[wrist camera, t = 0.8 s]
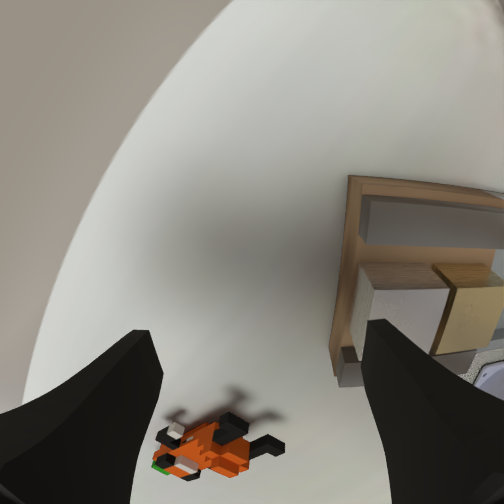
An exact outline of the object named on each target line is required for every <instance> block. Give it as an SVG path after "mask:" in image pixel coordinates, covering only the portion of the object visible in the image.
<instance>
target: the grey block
mask: <svg viewBox="0 0 504 504" xmlns="http://www.w3.org/2000/svg"><path fill="white" fill-rule="evenodd" d="M449 290H450V288H449V287H448V286H447V285H446V284H445V283H444V282H443V281H442V280H441V279H440V278H439V277H438V276H437V275H436V273H435V272H434V271H433V270H432V269H431V268H430V267H429V266H428V265H427V264H426V263H388V262H358V269H357V276H356V283H355V289H354V295H353V301H352V307H351V313H350V318H349V324H348V328H349V331H350V334H351V337H352V341H353V344H354V347H355V350H356V353H357V357H358V360H359V361H362V354H363V348H364V342H365V335H366V327H367V320H375V319H384V318H385V319H386V320H388V321H389V322H390V323H391V324H392V325H394V326H395V327H396V328H397V329H398V330H399V331H401V332H402V333H403V334H404V335H405V336H406V337H408V338H409V339H410V340H411V341H412V342H414V343H415V344H416V345H417V346H418V347H420V348H421V349H422V350H423V351H424V352H426V353H427V354H429V351H430V348H431V346H432V343H433V340H434V337H435V335H436V332H437V329H438V326H439V323H440V320H441V317H442V314H443V311H444V307H445V304H446V301H447V297H448V294H449Z"/></svg>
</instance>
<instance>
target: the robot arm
mask: <svg viewBox="0 0 504 504" xmlns="http://www.w3.org/2000/svg"><path fill="white" fill-rule="evenodd" d="M361 372H362V377H363V382H364V387H365V391H366V395H367V398H368V401H369V404H370V407H371V410H372V413H373V416H374V419H375V422H376V425H377V428H378V431H379V434H380V438H381V441H382V444H383V448H384V452H385V456H386V462H387V468H388V474H389V482H390V490H391V499H392V504H504V361H503V362H498V363H494V364H489V365H486V366H484V367H483V368H482V370H481V372H480V374H479V376H478V378H477V380H476V381H475V383H474V385H472V384H470V383H469V382H467V381H465V380H464V379H462V378H460V377H459V376H457V375H456V374H454V373H453V372H451V371H450V370H448V369H447V368H446V367H444V366H443V365H442V364H440V363H439V362H437V361H436V360H435V359H433V358H432V357H431V356H430V355H428V354H427V353H426V352H424V351H423V350H422V349H421V348H420V347H418V346H417V345H416V344H415V343H414V342H412V341H411V340H410V339H409V338H408V337H406V336H405V335H404V334H403V333H402V332H401V331H399V330H398V329H397V328H396V327H395V326H394V325H392V324H391V323H390V322H389V321H388V320H386V319H385V318H384V319H375V320H367V327H366V335H365V342H364V348H363V354H362V361H361ZM163 374H164V373H163V370H162V368H161V365H160V362H159V359H158V356H157V353H156V350H155V347H154V344H153V341H152V338H151V335H150V332H149V330H132V331H131V332H129V333H128V334H127V335H125V336H124V337H123V338H121V339H120V340H119V341H118V342H116V343H115V344H114V345H113V346H111V347H110V348H109V349H108V350H106V351H105V352H104V353H103V354H101V355H100V356H99V357H98V358H96V359H95V360H94V361H93V362H91V363H90V364H89V365H87V366H86V367H85V368H83V369H82V370H81V371H79V372H78V373H77V374H75V375H74V376H73V377H71V378H70V379H68V380H67V381H65V382H64V383H62V384H61V385H59V386H58V387H56V388H54V389H53V390H51V391H49V392H48V393H46V394H44V395H42V396H41V397H38V398H36V399H34V400H32V401H30V402H28V403H26V404H24V405H22V406H20V407H18V408H15V409H13V410H10V411H8V412H5V413H2V414H0V504H130V497H131V491H132V484H133V478H134V473H135V468H136V463H137V459H138V455H139V452H140V448H141V445H142V443H143V440H144V437H145V434H146V431H147V429H148V426H149V423H150V420H151V418H152V415H153V412H154V409H155V407H156V404H157V401H158V398H159V394H160V389H161V384H162V379H163Z"/></svg>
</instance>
